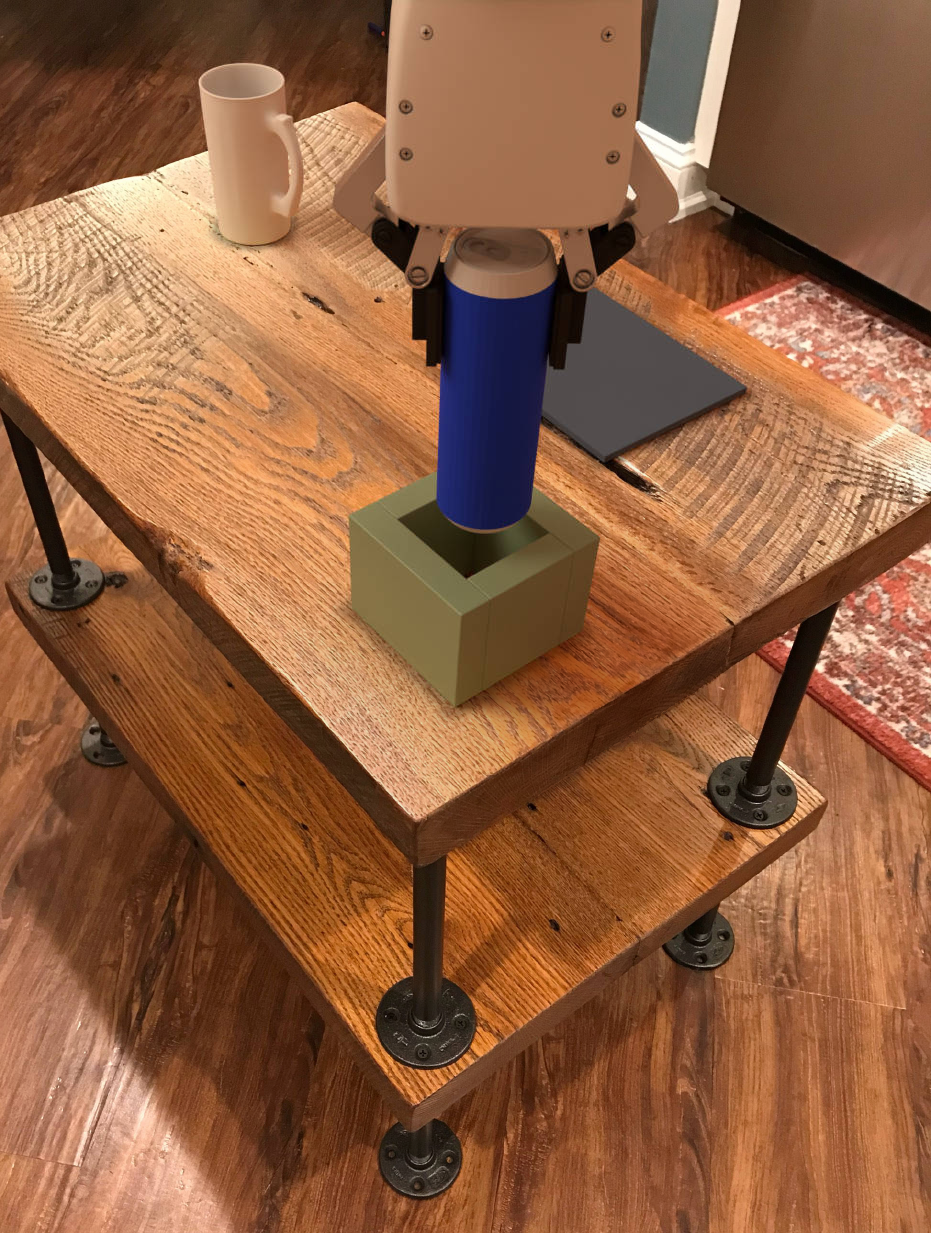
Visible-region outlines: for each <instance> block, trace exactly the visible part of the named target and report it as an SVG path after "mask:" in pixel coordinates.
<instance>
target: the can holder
mask: <svg viewBox="0 0 931 1233" xmlns="http://www.w3.org/2000/svg"><path fill="white" fill-rule="evenodd" d="M436 491H437V470H435V471H433V472H431V473H429V474H428V475H425V476H423V477H421V478H419V479H417V480H415V481H413V482H411V483H409V484H407V485H405V486H403V487H400V488H399V489H397V490H395V491H393V492H391V493H389V494H387V495H385V496H383V497H381V498H379V499H377V500H376V501H373V502H371V503H369V504H367V505H365V506H363V507H361V508H359V509H357V510H355V511H353V512H351V513H349V514H348V540H349V542H348V543H349V570H350V571H349V573H350V600H351V609H352V611H353V612H354V613H356V614H357V615H358V616H359V617H360V618H361V619H362V620H363V621H364V622H365V623H366V624H367V625H368V626H369V627H370V628H371V629H372V630H373V631H374V632H376V633H377V634H378V635H379V636H380V637H381V638H382V639H383V640H384V642H386V643H387V644H388V645H389V646H390V647H391V648H392V649H393V650H394V651H396V653H397V654H399V656H400V657H402V658H403V660H404V661H406V662H407V663H408V664H409V665H410V666H411V667H412V668H413V669H414V670H415V671H416V672H417V673H418V674H419V675H420V676H421V677H422V678H423V679H424V680H426V682H428V683H429V684H430V685H431V686H432V687H433V688H434V690H436V691H437V692H438V693H439V694H440V695H441V696H442V697H443V698H445V699H446V701H447V702H449V704H451V706H452V707H453V708H457V707H459V706H460V705H462V704H464V703H465V702H467V701H468V700H470V699H471V698H473V697H475V696H477V695H479V694H481V692H484V691H485V690H487V689H489V688H490V687H492V686H493V685H495V684H497V683H499V682H500V681H502V680H503V679H505V678H507V677H509V676H510V675H512V674H514V673H515V672H516V671H519V670H520V669H522V668H523V667H525V666H527V665H528V664H530V663H531V662H533V661H535V660H537V659H539V658H540V657H542V656H543V655H545V654H547V653H548V652H549V651H551V650H553V649H555V648H557V647H558V646H560V645H562V644H563V643H565V642H567V641H569V640H570V639H572V638H573V637H575V636H576V635H578V634H580V633H581V632H583V630H584V625H585V621H586V616H587V615H586V614H587V609H588V605H589V599H590V594H591V589H592V583H593V579H594V574H595V573H594V572H595V568H596V562H597V558H598V553H599V546H600V542H601V536H600V535H598V534H597V533H596V532H595V531H593V530H592V529H591V528H589V527H588V526H587V525H585V524H584V523H582V522H581V521H580V520H579V519H577V518H576V517H575V516H574V515H573V514H571V513H570V512H568V511H567V510H565V508H563V507H562V506H561V505H559V504H558V503H556V502H555V501H554V500H553V499H552V498H550V497H549V496H547V495H546V494H545V493H543V492H542V490H540V489H538V488H537V487H536V486H535V485H533V492H532V500H531V506H530V508H529V511H528V512H527V514H526V515H525V516H524V517H523V518H522V519H521V520H520V521H518V522H517V523H516V524H514V525H513V526H511V527H510V528H508V529H506V530H503V531H500V532H495V533H474V532H470V531H466V530H464V529H461V528H459V527H458V526H456V525H454V524H453V523H452V522H451V521H450V520H449V519H448V518H447V517H446V516H445V515H444V514H443V513H442V512H441V510H440V509H439V507H438V504H437V500H436ZM471 572H472V573H474V574H472V575H471V576H469V577H467V578H466V577H465V576H467V575H468V574H470V573H471Z"/></svg>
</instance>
